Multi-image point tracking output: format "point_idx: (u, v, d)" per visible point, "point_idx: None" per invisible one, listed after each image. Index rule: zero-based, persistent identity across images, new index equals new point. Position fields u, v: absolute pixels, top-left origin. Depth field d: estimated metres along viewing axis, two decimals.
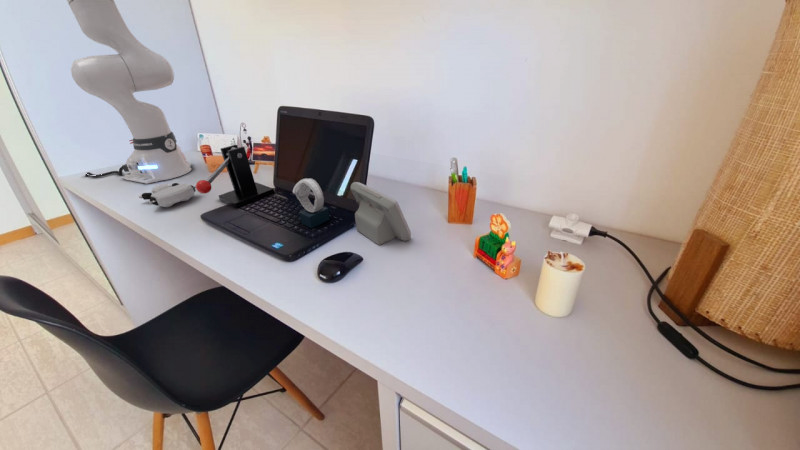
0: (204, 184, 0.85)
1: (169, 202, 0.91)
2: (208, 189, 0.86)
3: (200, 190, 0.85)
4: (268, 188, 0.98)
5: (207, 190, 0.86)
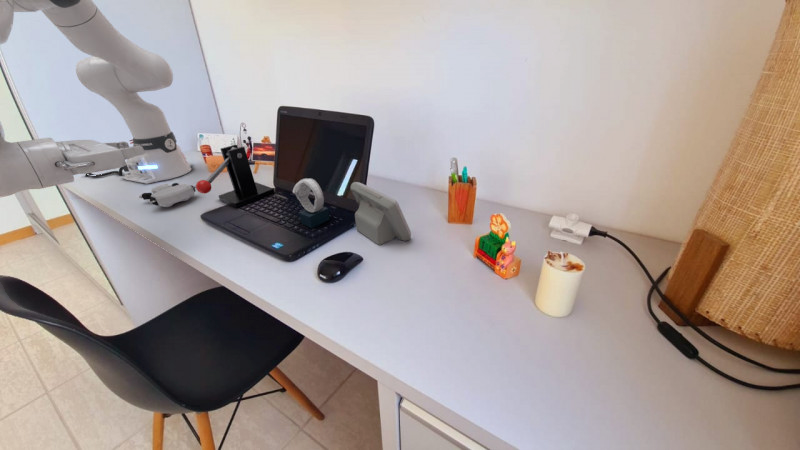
0: (204, 184, 0.85)
1: (169, 202, 0.91)
2: (208, 189, 0.86)
3: (200, 190, 0.85)
4: (268, 188, 0.98)
5: (207, 190, 0.86)
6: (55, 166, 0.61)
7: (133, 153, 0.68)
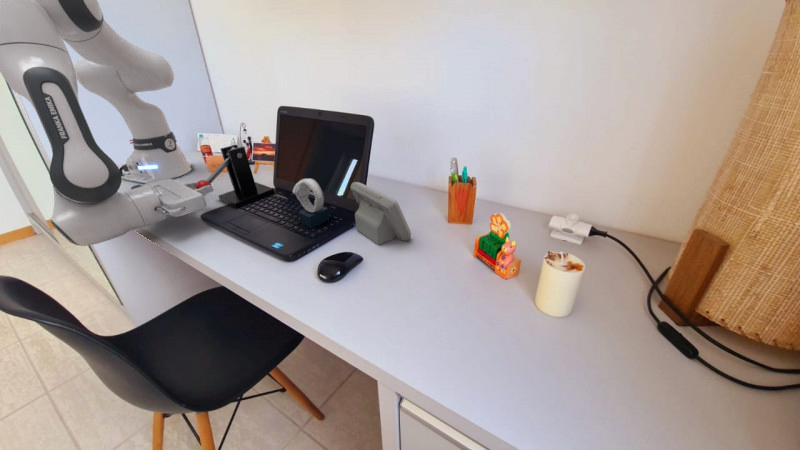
0: (204, 184, 0.85)
1: None
2: None
3: None
4: (268, 188, 0.98)
5: None
6: (155, 210, 0.76)
7: (205, 192, 0.84)
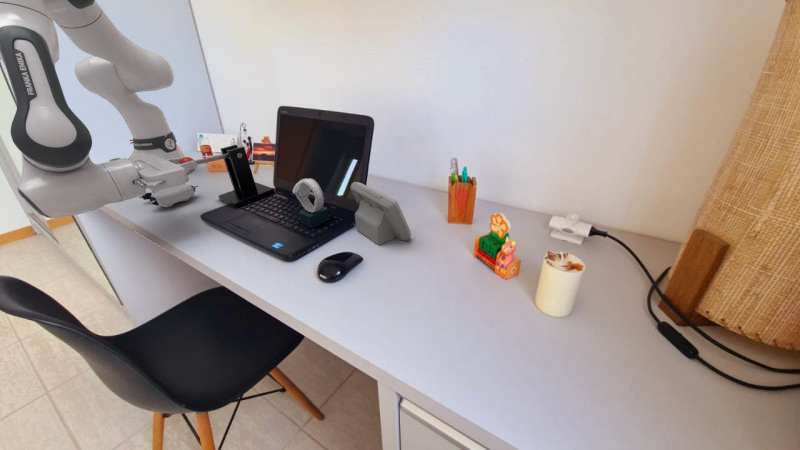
0: None
1: (169, 202, 0.91)
2: None
3: None
4: (268, 188, 0.98)
5: None
6: (132, 184, 0.71)
7: (189, 167, 0.80)
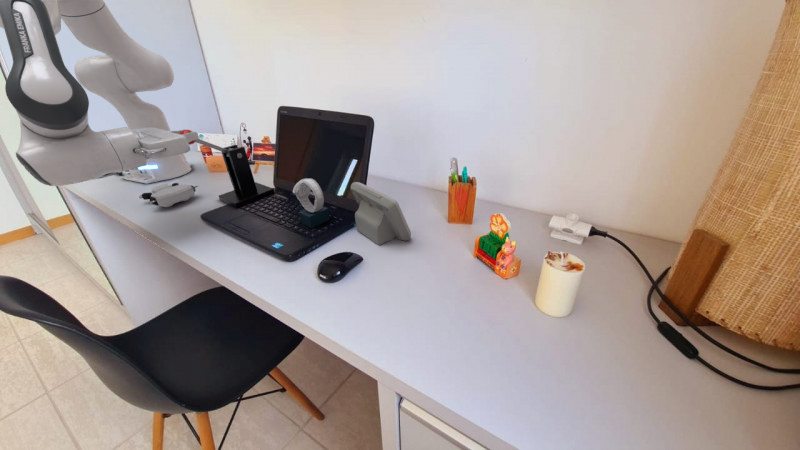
0: None
1: (169, 202, 0.91)
2: None
3: (184, 133, 0.79)
4: (268, 188, 0.98)
5: None
6: (133, 152, 0.70)
7: (190, 138, 0.78)
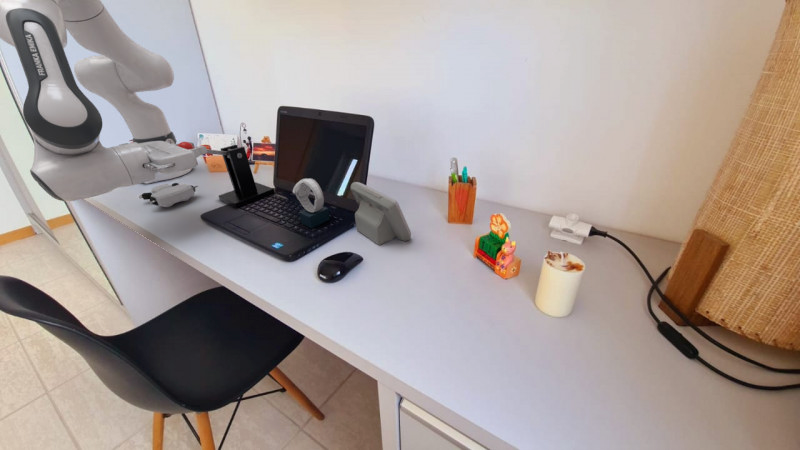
0: (190, 146, 0.80)
1: (169, 202, 0.91)
2: None
3: None
4: (268, 188, 0.98)
5: None
6: (142, 167, 0.72)
7: (199, 153, 0.80)
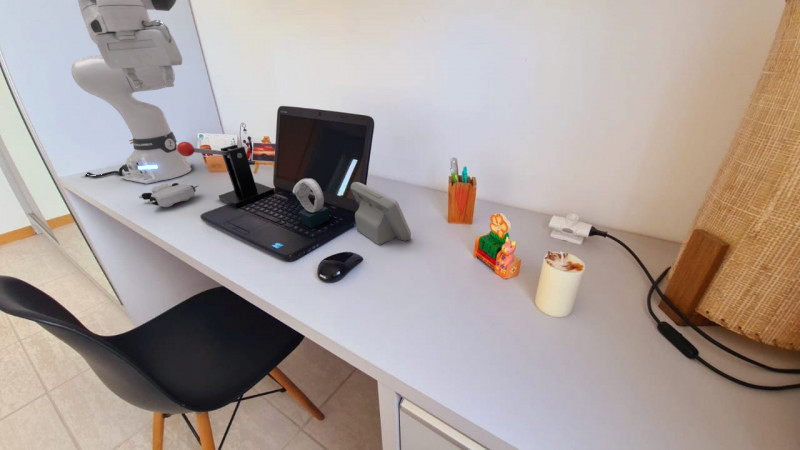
0: (190, 146, 0.80)
1: (169, 202, 0.91)
2: (188, 152, 0.80)
3: (181, 147, 0.79)
4: (268, 188, 0.98)
5: (186, 152, 0.80)
6: (142, 20, 0.74)
7: (168, 77, 0.79)
